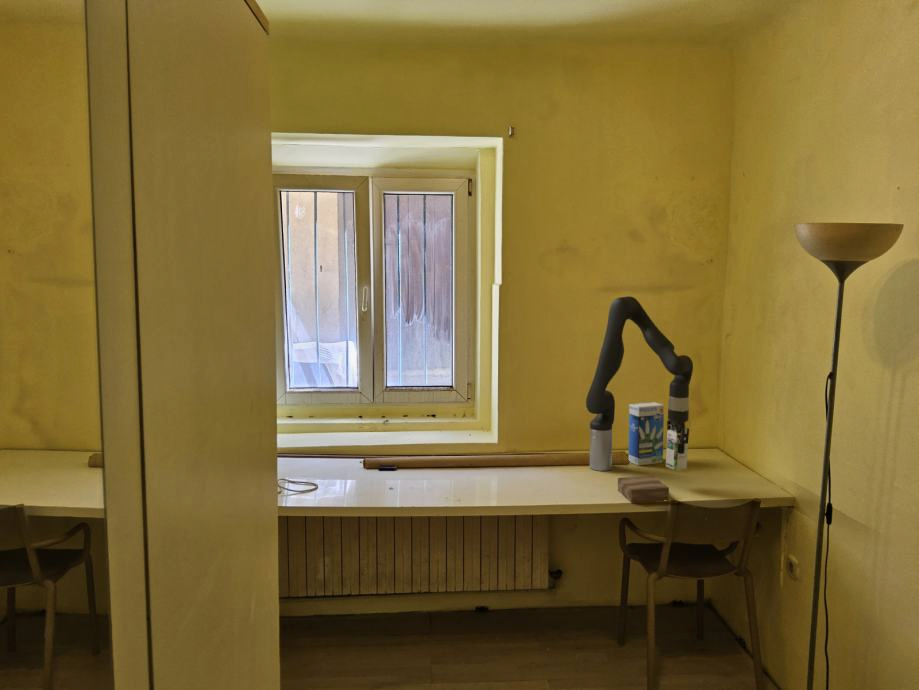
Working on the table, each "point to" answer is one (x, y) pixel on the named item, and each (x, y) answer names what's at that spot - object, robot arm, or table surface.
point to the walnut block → (643, 489)
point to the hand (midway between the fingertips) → (676, 450)
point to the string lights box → (646, 433)
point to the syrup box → (675, 452)
